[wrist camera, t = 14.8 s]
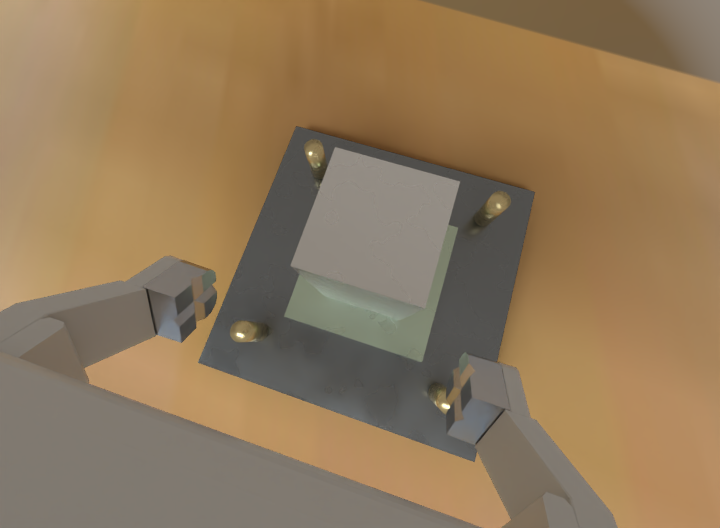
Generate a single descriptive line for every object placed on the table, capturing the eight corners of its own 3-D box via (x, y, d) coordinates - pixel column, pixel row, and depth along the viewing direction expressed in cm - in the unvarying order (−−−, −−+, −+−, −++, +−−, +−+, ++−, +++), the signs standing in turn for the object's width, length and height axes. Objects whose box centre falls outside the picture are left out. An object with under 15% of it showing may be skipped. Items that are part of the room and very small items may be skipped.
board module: (287, 317, 21) (217, 301, 11) (331, 195, 22) (304, 92, 13) (419, 361, 20) (468, 385, 10) (455, 231, 22) (523, 149, 12)
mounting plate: (207, 361, 21) (169, 367, 17) (299, 136, 25) (286, 96, 21) (468, 454, 20) (494, 485, 16) (526, 199, 23) (560, 170, 19)
